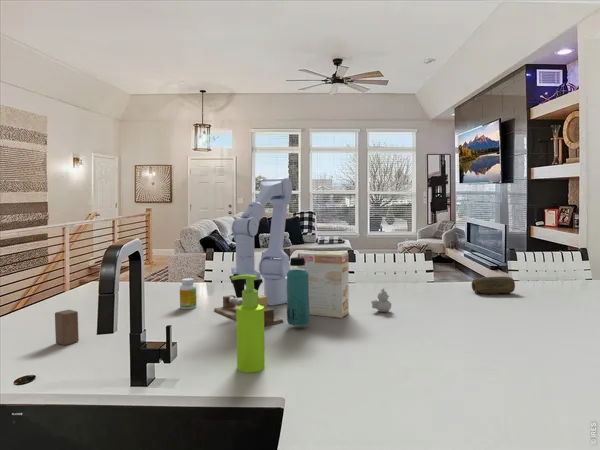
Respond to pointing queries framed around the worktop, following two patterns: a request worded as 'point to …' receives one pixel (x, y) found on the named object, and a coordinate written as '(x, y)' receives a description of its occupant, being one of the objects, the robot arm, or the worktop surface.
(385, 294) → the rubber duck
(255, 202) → the robot arm
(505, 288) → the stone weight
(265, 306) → the yellow notched block
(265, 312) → the rail
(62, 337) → the wooden block
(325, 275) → the coffeecake box
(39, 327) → the worktop surface
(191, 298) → the supplement bottle
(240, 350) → the soap dispenser
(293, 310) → the beverage bottle
